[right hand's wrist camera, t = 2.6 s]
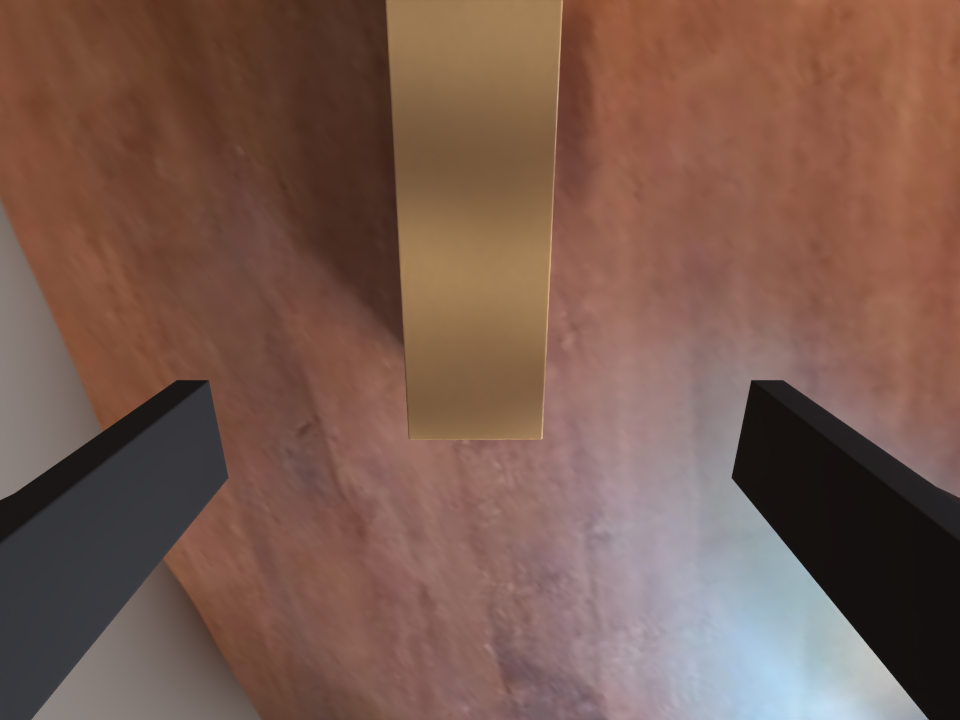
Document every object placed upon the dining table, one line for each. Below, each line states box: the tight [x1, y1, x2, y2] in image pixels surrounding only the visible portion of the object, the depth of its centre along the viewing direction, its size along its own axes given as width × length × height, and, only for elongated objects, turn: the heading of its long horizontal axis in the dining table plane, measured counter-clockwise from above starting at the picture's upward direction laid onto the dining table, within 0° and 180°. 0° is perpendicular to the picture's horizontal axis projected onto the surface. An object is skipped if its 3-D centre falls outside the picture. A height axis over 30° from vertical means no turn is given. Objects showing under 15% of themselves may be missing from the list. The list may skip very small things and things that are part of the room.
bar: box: [385, 0, 563, 440], centre depth 21 cm, size 22×6×8 cm, turn 0°
